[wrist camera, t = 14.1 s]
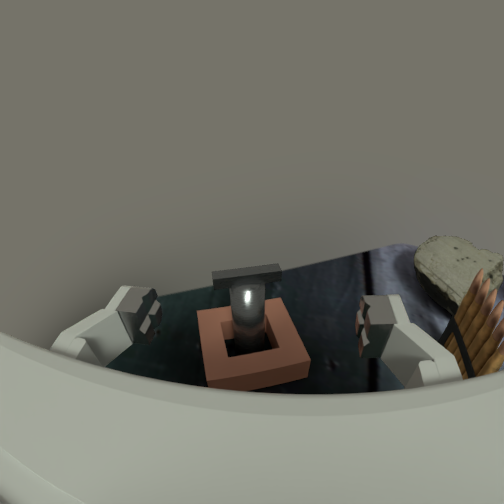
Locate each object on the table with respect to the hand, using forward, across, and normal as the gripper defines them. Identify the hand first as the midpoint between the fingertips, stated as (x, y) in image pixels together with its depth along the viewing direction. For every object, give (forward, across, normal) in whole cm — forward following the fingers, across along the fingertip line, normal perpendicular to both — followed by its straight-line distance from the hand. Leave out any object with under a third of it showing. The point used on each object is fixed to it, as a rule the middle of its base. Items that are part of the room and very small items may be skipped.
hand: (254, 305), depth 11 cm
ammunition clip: (+8, -21, +19) cm, 29 cm away
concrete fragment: (+23, -27, +20) cm, 41 cm away
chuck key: (+12, +3, +18) cm, 22 cm away
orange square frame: (+12, +3, +18) cm, 22 cm away
